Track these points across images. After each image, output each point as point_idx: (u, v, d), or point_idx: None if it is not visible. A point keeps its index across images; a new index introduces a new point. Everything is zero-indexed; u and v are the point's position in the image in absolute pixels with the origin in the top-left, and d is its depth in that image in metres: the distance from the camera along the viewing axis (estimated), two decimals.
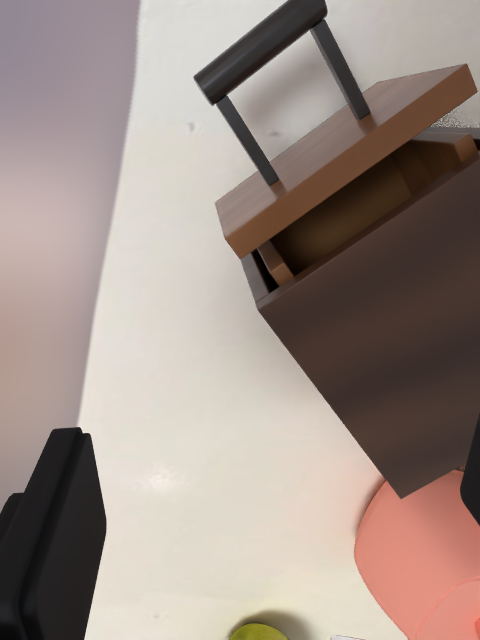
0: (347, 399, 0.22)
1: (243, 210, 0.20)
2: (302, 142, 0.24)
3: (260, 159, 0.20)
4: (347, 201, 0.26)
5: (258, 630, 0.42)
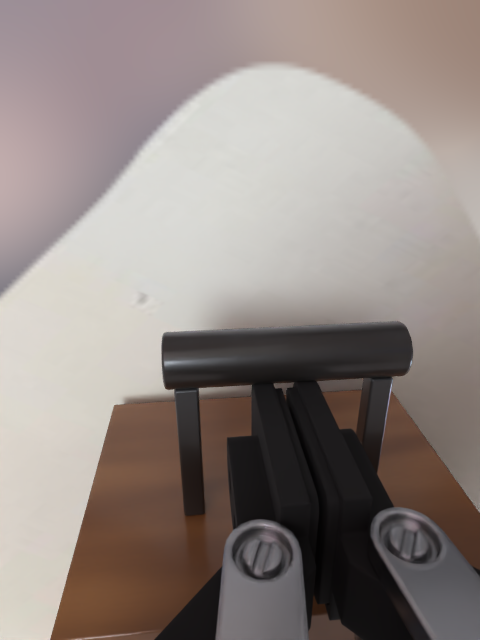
0: None
1: (122, 550, 0.12)
2: None
3: (193, 483, 0.12)
4: None
5: None
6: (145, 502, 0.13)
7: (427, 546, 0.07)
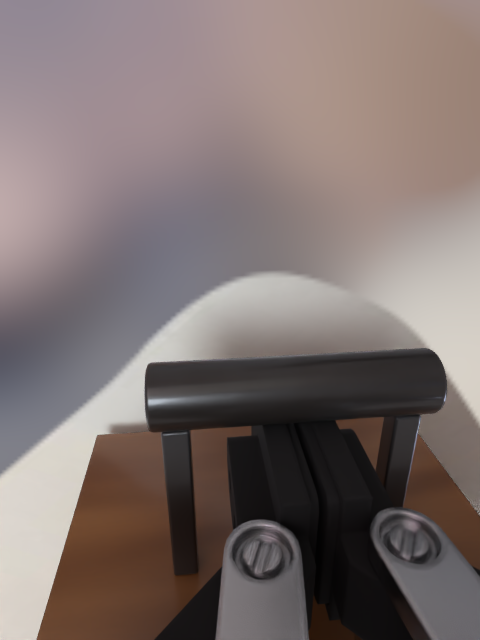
0: None
1: (98, 622, 0.10)
2: None
3: (184, 539, 0.10)
4: None
5: None
6: (128, 557, 0.11)
7: (427, 546, 0.07)
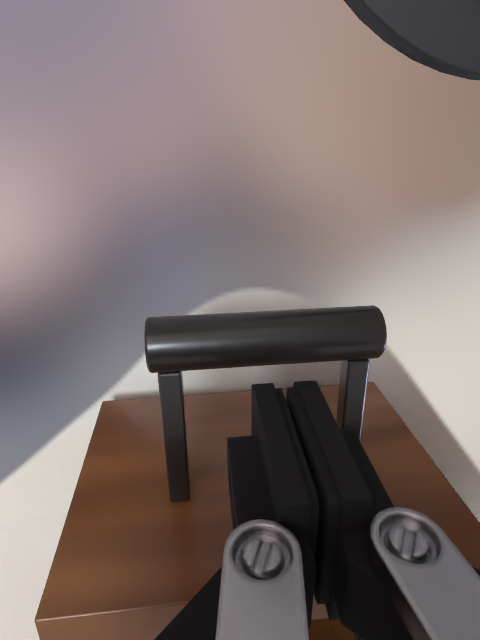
0: None
1: (108, 534, 0.12)
2: None
3: (178, 468, 0.12)
4: None
5: None
6: (131, 490, 0.13)
7: (427, 546, 0.07)
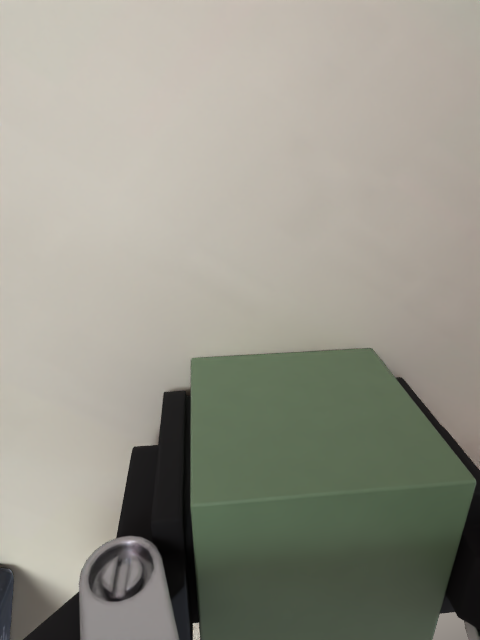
0: None
1: None
2: None
3: None
4: None
5: None
6: None
7: None
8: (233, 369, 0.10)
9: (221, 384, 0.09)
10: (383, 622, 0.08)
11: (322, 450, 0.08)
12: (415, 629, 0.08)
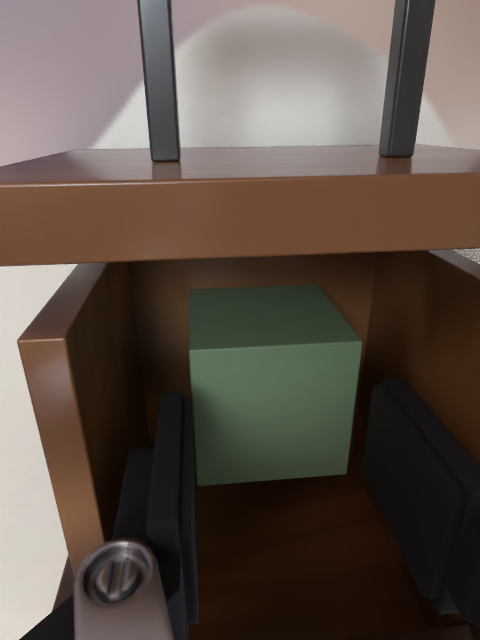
0: None
1: (56, 167, 0.08)
2: (266, 148, 0.13)
3: (162, 93, 0.09)
4: (279, 283, 0.15)
5: None
6: (98, 160, 0.09)
7: None
8: (219, 294, 0.15)
9: (210, 301, 0.14)
10: (313, 447, 0.13)
11: (272, 329, 0.12)
12: (335, 454, 0.13)
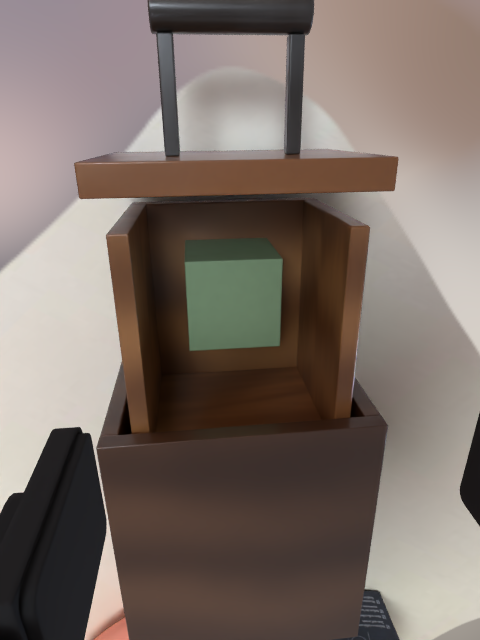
0: (134, 559, 0.21)
1: (121, 158, 0.17)
2: (230, 151, 0.22)
3: (170, 122, 0.17)
4: (242, 236, 0.24)
5: None
6: (137, 156, 0.18)
7: None
8: (203, 242, 0.23)
9: (197, 245, 0.23)
10: (258, 326, 0.21)
11: (232, 254, 0.21)
12: (271, 331, 0.22)
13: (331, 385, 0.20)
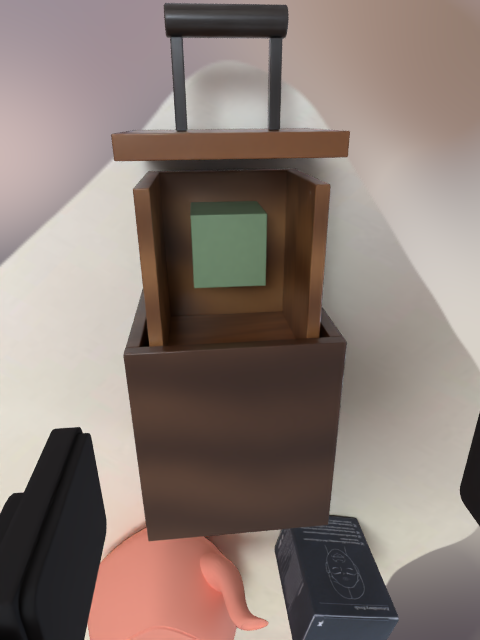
0: (150, 449, 0.27)
1: (143, 132, 0.22)
2: (227, 129, 0.28)
3: (180, 105, 0.23)
4: (236, 200, 0.30)
5: None
6: (154, 131, 0.24)
7: None
8: (205, 203, 0.29)
9: (200, 205, 0.28)
10: (248, 268, 0.27)
11: (228, 211, 0.27)
12: (259, 273, 0.27)
13: (304, 313, 0.26)
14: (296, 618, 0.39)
